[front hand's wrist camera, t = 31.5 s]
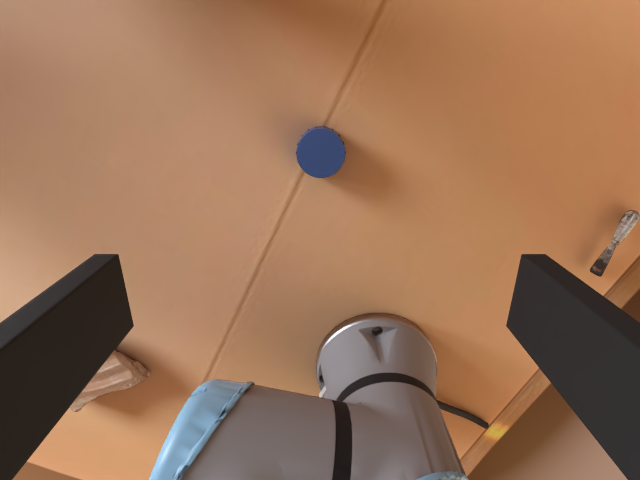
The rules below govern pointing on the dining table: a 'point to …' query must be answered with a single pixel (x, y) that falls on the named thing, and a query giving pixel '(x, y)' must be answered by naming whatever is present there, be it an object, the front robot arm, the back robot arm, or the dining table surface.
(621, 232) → the putty knife
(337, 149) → the lid
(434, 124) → the dining table surface
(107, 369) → the stone
